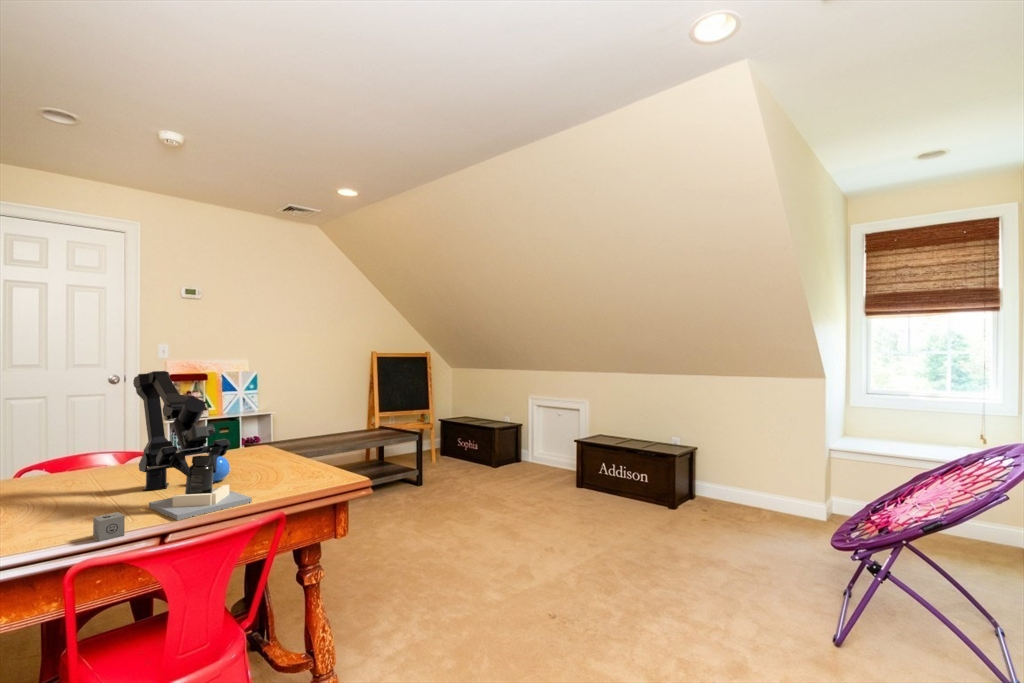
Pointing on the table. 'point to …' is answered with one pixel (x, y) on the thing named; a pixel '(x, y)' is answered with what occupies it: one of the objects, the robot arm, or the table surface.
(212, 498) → the v cradle
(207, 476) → the supplement bottle
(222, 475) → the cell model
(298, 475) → the table surface
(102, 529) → the dice cube
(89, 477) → the table surface
